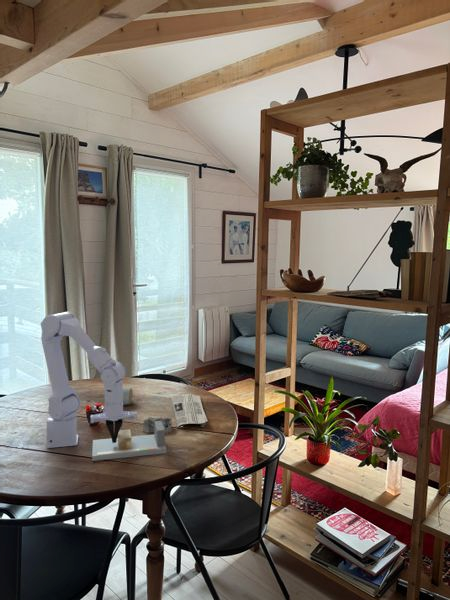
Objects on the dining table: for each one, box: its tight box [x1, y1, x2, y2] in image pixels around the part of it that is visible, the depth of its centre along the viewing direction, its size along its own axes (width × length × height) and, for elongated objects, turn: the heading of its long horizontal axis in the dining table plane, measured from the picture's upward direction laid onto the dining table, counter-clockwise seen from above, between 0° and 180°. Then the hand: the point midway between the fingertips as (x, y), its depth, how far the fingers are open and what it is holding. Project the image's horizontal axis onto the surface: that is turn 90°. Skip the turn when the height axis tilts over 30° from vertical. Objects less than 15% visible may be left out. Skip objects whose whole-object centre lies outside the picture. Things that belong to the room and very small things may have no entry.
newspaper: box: [170, 393, 208, 429], centre depth 179 cm, size 35×12×4 cm, turn 11°
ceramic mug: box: [123, 386, 134, 406], centre depth 188 cm, size 11×8×8 cm
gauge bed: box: [91, 421, 167, 462], centre depth 144 cm, size 23×12×7 cm, turn 106°
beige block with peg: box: [117, 429, 132, 450], centre depth 143 cm, size 4×9×4 cm, turn 16°
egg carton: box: [142, 416, 173, 434], centre depth 161 cm, size 11×8×4 cm
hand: (114, 441), depth 143 cm, fingers closed
